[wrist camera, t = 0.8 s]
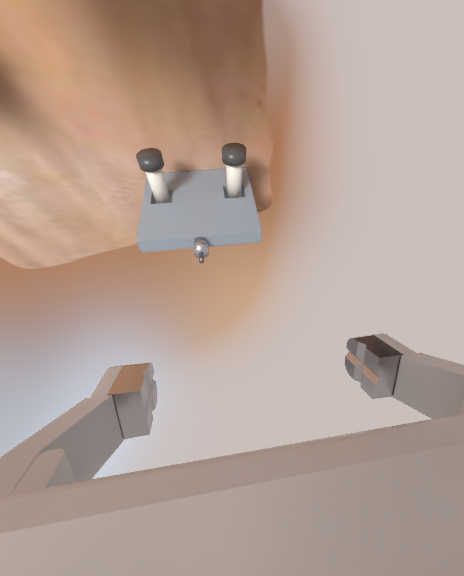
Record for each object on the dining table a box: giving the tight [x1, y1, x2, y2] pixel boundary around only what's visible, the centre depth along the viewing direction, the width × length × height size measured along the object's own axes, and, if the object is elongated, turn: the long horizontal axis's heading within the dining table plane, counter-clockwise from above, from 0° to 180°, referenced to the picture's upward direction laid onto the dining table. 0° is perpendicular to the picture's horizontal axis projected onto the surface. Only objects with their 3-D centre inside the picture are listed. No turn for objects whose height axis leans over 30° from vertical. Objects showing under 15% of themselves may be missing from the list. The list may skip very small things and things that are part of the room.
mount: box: [136, 167, 262, 252], centre depth 53 cm, size 8×26×22 cm, turn 91°
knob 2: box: [222, 143, 246, 198], centre depth 48 cm, size 10×5×5 cm, turn 1°
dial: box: [194, 237, 209, 263], centre depth 44 cm, size 3×3×5 cm
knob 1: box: [136, 148, 170, 204], centre depth 47 cm, size 10×5×5 cm, turn 1°
